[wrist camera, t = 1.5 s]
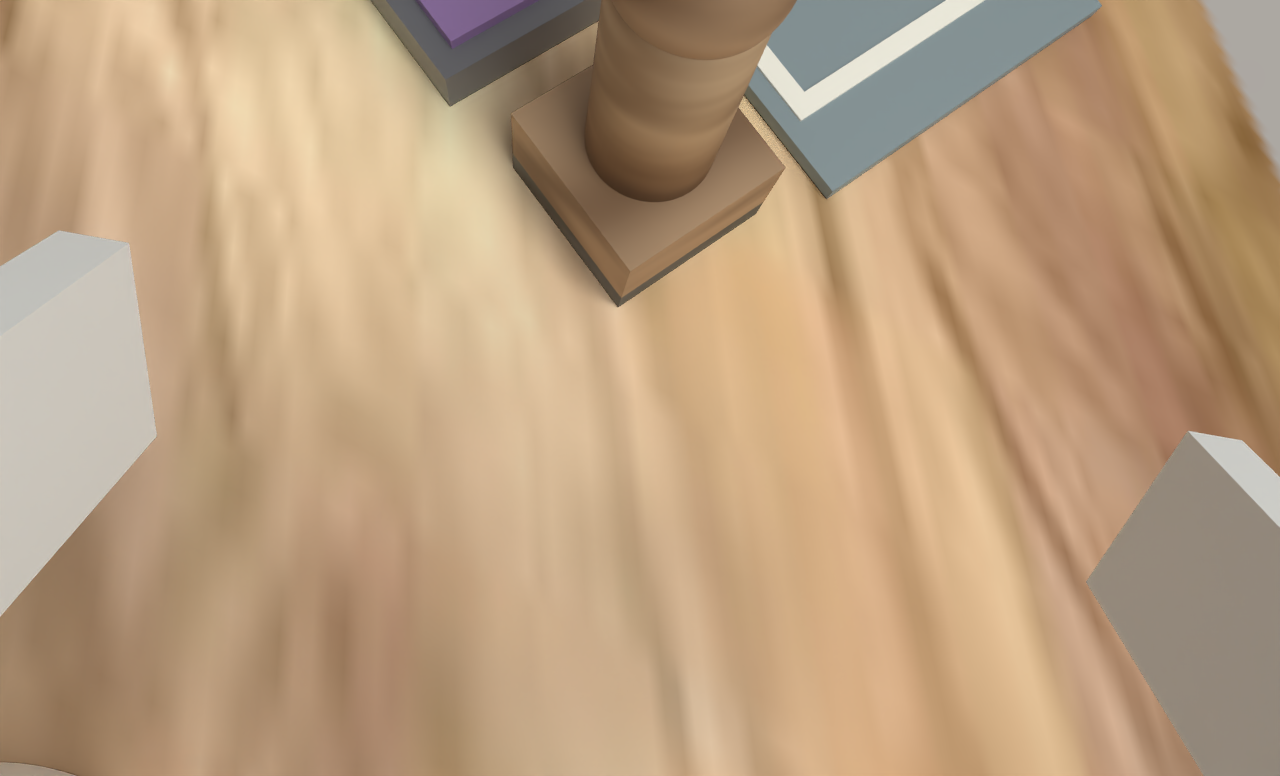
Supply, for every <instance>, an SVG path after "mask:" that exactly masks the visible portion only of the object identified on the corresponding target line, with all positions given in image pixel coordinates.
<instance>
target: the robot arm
mask: <svg viewBox="0 0 1280 776" xmlns="http://www.w3.org/2000/svg"><path fill="white" fill-rule="evenodd" d="M156 437H157V432H156V425H155V418H154V412H153V405H152V398H151V391H150V384H149V377H148V370H147V363H146V356H145V350H144V343H143V336H142V329H141V322H140V315H139V308H138V301H137V294H136V287H135V281H134V274H133V267H132V260H131V253H130V246H129V243H126V242H121V241H115V240H109V239H104V238H98V237H93V236H87V235H81V234H76V233H70V232H64V231H57V232H56V233H54V234H52V235H51V236H49V237H47V238H46V239H44V240H42V241H41V242H39V243H38V244H36V245H34V246H33V247H31V248H29V249H28V250H26V251H25V252H23V253H21V254H20V255H18V256H16V257H15V258H13V259H12V260H10V261H8V262H7V263H5V264H3V265H2V266H0V616H1V615H2V614H3V613H4V612H5V611H6V609H7V608H8V607H9V606H10V605H11V604H12V603H13V601H14V600H15V599H16V598H17V597H18V596H19V594H20V593H21V592H22V591H23V590H24V589H25V588H26V586H27V585H28V584H29V583H30V582H31V581H32V579H33V578H34V577H35V576H36V575H37V574H38V573H39V571H40V570H41V569H42V568H43V567H44V566H45V565H46V563H47V562H48V561H49V560H50V559H51V558H52V556H53V555H54V554H55V553H56V552H57V551H58V550H59V548H60V547H61V546H62V545H63V544H64V543H65V541H66V540H67V539H68V538H69V537H70V536H71V535H72V533H73V532H74V531H75V530H76V529H77V528H78V526H79V525H80V524H81V523H82V522H83V521H84V520H85V518H86V517H87V516H88V515H89V514H90V513H91V512H92V510H93V509H94V508H95V507H96V506H97V505H98V503H99V502H100V501H101V500H102V499H103V498H104V497H105V495H106V494H107V493H108V492H109V491H110V490H111V488H112V487H113V486H114V485H115V484H116V483H117V482H118V480H119V479H120V478H121V477H122V476H123V475H124V473H125V472H126V471H127V470H128V469H129V468H130V467H131V465H132V464H133V463H134V462H135V461H136V460H137V459H138V457H139V456H140V455H141V454H142V453H143V452H144V450H145V449H146V448H147V447H148V446H149V445H150V444H151V442H152V441H153V440H154V439H155V438H156ZM1086 583H1087V584H1088V586H1089V588H1090V589H1091V591H1092V593H1093V594H1094V596H1095V598H1096V599H1097V601H1098V603H1099V604H1100V606H1101V608H1102V609H1103V611H1104V612H1105V614H1106V616H1107V617H1108V619H1109V621H1110V622H1111V624H1112V626H1113V627H1114V629H1115V631H1116V632H1117V634H1118V635H1119V637H1120V639H1121V640H1122V642H1123V644H1124V645H1125V647H1126V649H1127V650H1128V652H1129V654H1130V655H1131V657H1132V659H1133V660H1134V662H1135V663H1136V665H1137V667H1138V668H1139V670H1140V672H1141V673H1142V675H1143V677H1144V678H1145V680H1146V682H1147V683H1148V685H1149V686H1150V688H1151V690H1152V691H1153V693H1154V695H1155V696H1156V698H1157V700H1158V701H1159V703H1160V705H1161V706H1162V708H1163V710H1164V711H1165V713H1166V714H1167V716H1168V718H1169V719H1170V721H1171V723H1172V724H1173V726H1174V728H1175V729H1176V731H1177V733H1178V734H1179V736H1180V738H1181V739H1182V741H1183V742H1184V744H1185V746H1186V747H1187V749H1188V751H1189V752H1190V754H1191V756H1192V757H1193V759H1194V761H1195V762H1196V764H1197V765H1198V767H1199V769H1200V770H1201V772H1202V774H1203V775H1204V776H1280V477H1279V476H1278V475H1277V474H1276V473H1275V472H1274V471H1273V470H1272V469H1271V468H1270V467H1269V466H1268V465H1267V464H1266V463H1265V462H1264V461H1263V460H1262V459H1261V458H1260V457H1259V456H1258V455H1256V454H1255V453H1254V452H1253V451H1252V450H1251V449H1250V448H1249V447H1248V446H1247V445H1246V444H1245V443H1244V442H1243V441H1242V440H1236V439H1231V438H1225V437H1219V436H1214V435H1208V434H1202V433H1197V432H1191V431H1187V433H1186V434H1185V436H1184V437H1183V439H1182V440H1181V442H1180V443H1179V445H1178V446H1177V448H1176V449H1175V451H1174V452H1173V454H1172V455H1171V456H1170V458H1169V459H1168V461H1167V462H1166V464H1165V465H1164V467H1163V468H1162V470H1161V471H1160V473H1159V474H1158V476H1157V477H1156V479H1155V480H1154V482H1153V483H1152V485H1151V486H1150V488H1149V489H1148V491H1147V492H1146V494H1145V495H1144V497H1143V498H1142V500H1141V501H1140V502H1139V504H1138V505H1137V507H1136V508H1135V510H1134V511H1133V513H1132V514H1131V516H1130V517H1129V519H1128V520H1127V522H1126V523H1125V525H1124V526H1123V528H1122V529H1121V531H1120V532H1119V534H1118V535H1117V537H1116V538H1115V540H1114V541H1113V543H1112V544H1111V545H1110V547H1109V548H1108V550H1107V551H1106V553H1105V554H1104V556H1103V557H1102V559H1101V560H1100V562H1099V563H1098V565H1097V566H1096V568H1095V569H1094V571H1093V572H1092V574H1091V575H1090V577H1089V578H1088V580H1087V581H1086Z"/></svg>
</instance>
